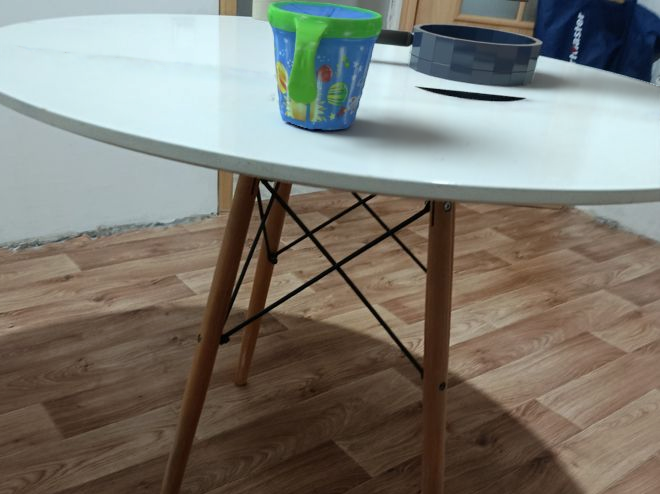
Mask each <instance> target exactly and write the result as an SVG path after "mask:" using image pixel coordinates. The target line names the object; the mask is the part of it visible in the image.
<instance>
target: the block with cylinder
mask: <svg viewBox="0 0 660 494" xmlns="http://www.w3.org/2000/svg"><path fill="white" fill-rule="evenodd" d="M507 1H509V2H518V3H529V1H530V0H507Z"/></svg>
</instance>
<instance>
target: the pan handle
mask: <svg viewBox="0 0 660 494" xmlns="http://www.w3.org/2000/svg"><path fill="white" fill-rule="evenodd" d="M412 33H413V32H412V31H411V32H410V31H406V30H395V29H388V28H382V29H381V33H380V34H379V36H378V38H377V39H376V42H375V44H376V45H385V46H394V47H404V48H410V46H411V45H412V41H413V34H412ZM375 44H374V45H375Z"/></svg>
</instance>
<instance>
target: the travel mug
mask: <svg viewBox="0 0 660 494" xmlns="http://www.w3.org/2000/svg"><path fill="white" fill-rule="evenodd" d="M281 1H300V0H252V11H251V12H252V15H251V17H252V19H254V20H258V21H262V22H268V23H269V21H268V16H267V14H268V10H269V5H270V4H271V3H274V2H281Z"/></svg>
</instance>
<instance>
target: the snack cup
mask: <svg viewBox="0 0 660 494" xmlns="http://www.w3.org/2000/svg"><path fill="white" fill-rule="evenodd" d="M267 16H268V21H269V22H268V21H267V22H268V23H269V26H270V28H271V30H272V35H273V49H274V50H273V51H274V52H273V53H274V67H275V75H276V77H275V78H276V88H277V96H278V107H279V108H278V109H279V112H280V117H281V120H282V121H283V122H289V123H290V124H292V125H293V124H295V125H298V126H301V127H306V128H308V129H307V130H314V129H322V130H321V131H332V130H333V131H338V130H346V129H348V128H349V127H350V126H352V125H353V123H354V121H355V119H356V117H357V112H358V109H359V107H360V102H361V98H362V96H363V90H364V88H365V85H366V80H367V77H368V74H369V69H370V66H371V65H370V64H371V61H372V57H373V51H374V48H375V42H376V39H377V38H378V36H379V34H380V33H381V29H383V22H384V21H383V19H384V18H383V17H384V16H383V15H382V14H381V13H379V12H377V11H373V10H371V9H367V8H362V7H358V6H357V7H356V6H351V5H344V4H339V3H329V2H320V1H319V2H318V1H307V0H299V1H281V2H274V3H271V4H270V5H269V10H268V14H267ZM295 125H294V126H295ZM298 126H297V127H298ZM301 127H300V128H301Z"/></svg>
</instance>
